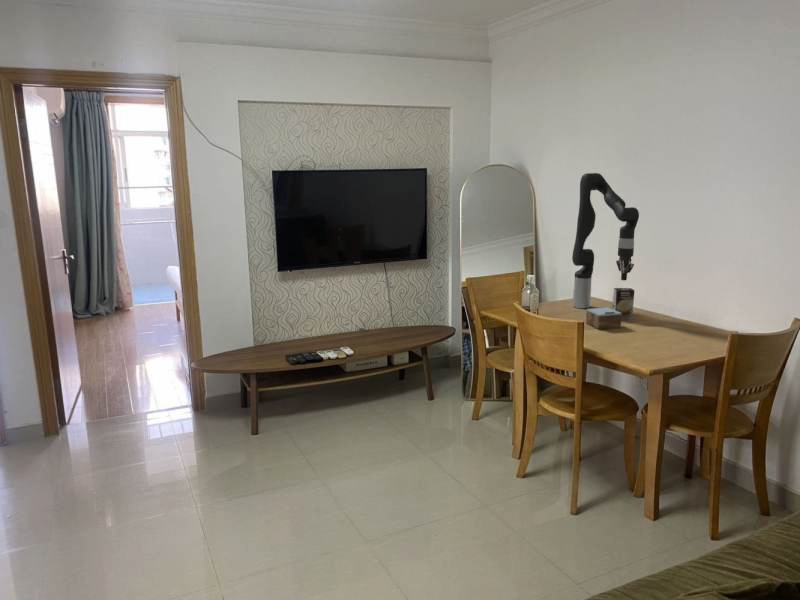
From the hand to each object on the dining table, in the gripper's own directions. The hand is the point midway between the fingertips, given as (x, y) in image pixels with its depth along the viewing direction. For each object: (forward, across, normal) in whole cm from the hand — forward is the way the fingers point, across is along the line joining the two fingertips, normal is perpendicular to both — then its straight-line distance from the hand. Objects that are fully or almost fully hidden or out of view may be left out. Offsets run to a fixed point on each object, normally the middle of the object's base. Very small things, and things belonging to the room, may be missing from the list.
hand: (623, 280), depth 309 cm
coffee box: (+21, 0, 0) cm, 21 cm away
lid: (+14, +10, -17) cm, 24 cm away
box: (+21, +10, -16) cm, 28 cm away
